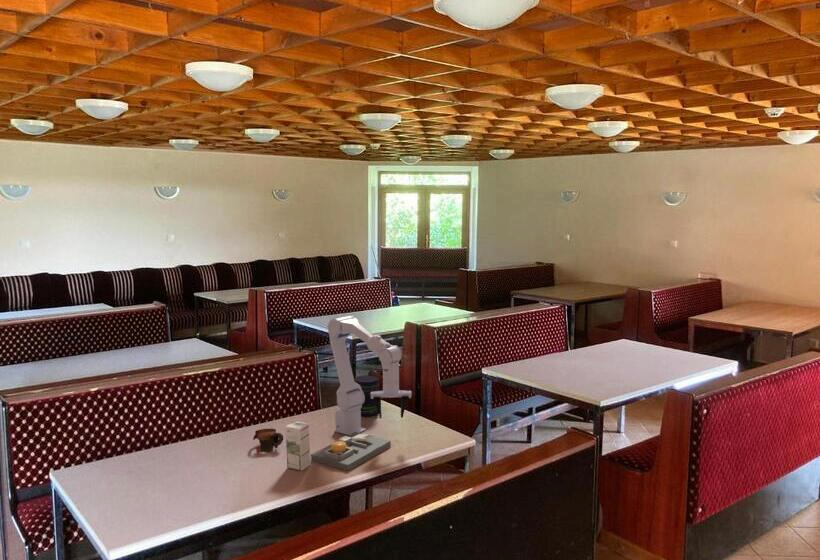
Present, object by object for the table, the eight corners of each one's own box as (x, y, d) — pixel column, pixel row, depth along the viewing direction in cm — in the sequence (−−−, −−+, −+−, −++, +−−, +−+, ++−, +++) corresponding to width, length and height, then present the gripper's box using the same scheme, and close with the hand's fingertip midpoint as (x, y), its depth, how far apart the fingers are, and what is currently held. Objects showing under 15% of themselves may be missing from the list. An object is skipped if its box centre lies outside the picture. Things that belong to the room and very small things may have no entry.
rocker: (351, 440, 215) (351, 437, 215) (359, 436, 219) (359, 433, 218) (365, 440, 211) (365, 438, 211) (373, 436, 215) (372, 434, 215)
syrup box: (311, 464, 201) (309, 422, 200) (300, 471, 196) (299, 428, 194) (297, 461, 204) (295, 420, 202) (286, 468, 198) (284, 426, 197)
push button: (328, 450, 203) (328, 445, 203) (337, 445, 208) (337, 440, 207) (339, 453, 201) (339, 448, 200) (349, 448, 205) (349, 443, 205)
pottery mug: (247, 454, 211) (247, 430, 215) (262, 456, 220) (262, 433, 223) (277, 449, 208) (277, 425, 211) (291, 451, 216) (290, 428, 220)
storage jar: (384, 412, 251) (383, 377, 249) (367, 419, 243) (367, 383, 242) (366, 408, 257) (365, 373, 255) (350, 414, 250) (349, 379, 248)
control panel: (311, 460, 205) (310, 450, 204) (355, 437, 225) (355, 428, 224) (348, 470, 196) (347, 460, 196) (390, 446, 216) (390, 436, 216)
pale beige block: (338, 445, 211) (338, 439, 211) (345, 442, 214) (344, 436, 214) (345, 447, 209) (345, 441, 209) (351, 444, 212) (351, 437, 212)
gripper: (370, 384, 210) (371, 421, 212) (412, 382, 212) (412, 420, 213) (370, 378, 217) (370, 414, 219) (410, 377, 219) (410, 413, 220)
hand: (391, 416), depth 217 cm, fingers open, 7 cm apart
